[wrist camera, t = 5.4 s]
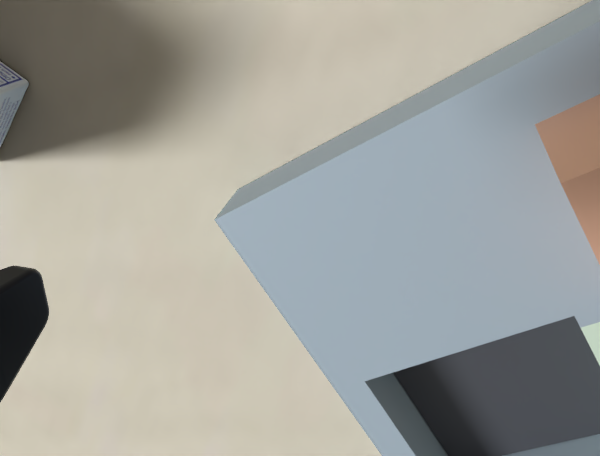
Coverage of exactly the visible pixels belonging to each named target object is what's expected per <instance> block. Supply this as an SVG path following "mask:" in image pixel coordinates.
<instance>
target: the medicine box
mask: <svg viewBox="0 0 600 456" xmlns="http://www.w3.org/2000/svg"><path fill="white" fill-rule="evenodd" d="M28 85H29V82H28V81H27V80H26V79H25V78H23V77H22V76H20V75H19V74H17V73H16V72H15V71H13V70H12V69H10V68H9V67H8V66H6V65H5V64H3V63H2V62H1V61H0V147H1V145H2V143H3V141H4V139H5V137H6V135H7V133H8V131H9V128H10V126H11V123H12V121H13V118H14V116H15V114H16V112H17V110H18V107H19V105H20V103H21V101H22V99H23V96H24V94H25V92H26V90H27V87H28Z"/></svg>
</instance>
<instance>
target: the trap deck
mask: <svg viewBox="0 0 600 456" xmlns="http://www.w3.org/2000/svg"><path fill="white" fill-rule="evenodd" d="M599 94H600V0H592V1H590V2H588V3H586V4H585V5H583V6H581V7H579V8H577V9H575V10H573V11H571V12H570V13H568V14H566V15H564V16H562V17H560V18H558V19H556V20H555V21H553V22H551V23H549V24H547V25H545V26H543V27H541V28H540V29H538V30H536V31H534V32H532V33H530V34H528V35H526V36H525V37H523V38H521V39H519V40H517V41H515V42H513V43H511V44H510V45H508V46H506V47H504V48H502V49H500V50H498V51H496V52H495V53H493V54H491V55H489V56H487V57H485V58H483V59H481V60H480V61H478V62H476V63H474V64H472V65H470V66H468V67H466V68H465V69H463V70H461V71H459V72H457V73H455V74H453V75H451V76H450V77H448V78H446V79H444V80H442V81H440V82H438V83H436V84H435V85H433V86H431V87H429V88H427V89H425V90H423V91H421V92H420V93H418V94H416V95H414V96H412V97H410V98H408V99H406V100H405V101H403V102H401V103H399V104H397V105H395V106H393V107H391V108H390V109H388V110H386V111H384V112H382V113H380V114H378V115H376V116H375V117H373V118H371V119H369V120H367V121H365V122H363V123H361V124H360V125H358V126H356V127H354V128H352V129H350V130H348V131H346V132H345V133H343V134H341V135H339V136H337V137H335V138H333V139H331V140H330V141H328V142H326V143H324V144H322V145H320V146H318V147H316V148H315V149H313V150H311V151H309V152H307V153H305V154H303V155H301V156H300V157H298V158H296V159H294V160H292V161H290V162H288V163H286V164H285V165H283V166H281V167H279V168H277V169H275V170H273V171H271V172H270V173H268V174H266V175H264V176H262V177H260V178H258V179H256V180H255V181H253V182H251V183H249V184H247V185H245V186H243V187H241V188H239V189H238V190H237V191H236V192H235V194H234V195H233V196H232V198H231V199H230V200H229V201H228V203H227V204H226V205H225V207H224V208H223V209H222V211H221V212H220V213H219V214H218V216H217V217H216V218H215V221H216V223H217V224H218V226H219V227H220V228H221V230H222V231H223V233H224V234H225V235H226V237H227V238H228V240H229V241H230V242H231V244H232V245H233V247H234V248H235V249H236V251H237V252H238V254H239V255H240V256H241V258H242V259H243V261H244V262H245V264H246V265H247V266H248V268H249V269H250V271H251V272H252V273H253V275H254V276H255V278H256V279H257V280H258V282H259V283H260V285H261V286H262V287H263V289H264V290H265V292H266V293H267V294H268V296H269V297H270V299H271V300H272V302H273V303H274V304H275V306H276V307H277V309H278V310H279V311H280V313H281V314H282V316H283V317H284V318H285V320H286V321H287V323H288V324H289V325H290V327H291V328H292V330H293V331H294V332H295V334H296V335H297V337H298V338H299V340H300V341H301V342H302V344H303V345H304V347H305V348H306V349H307V351H308V352H309V354H310V355H311V356H312V358H313V359H314V361H315V362H316V363H317V365H318V366H319V368H320V369H321V370H322V372H323V373H324V375H325V376H326V377H327V379H328V380H329V382H330V383H331V385H332V386H333V387H334V389H335V390H336V392H337V393H338V394H339V396H340V397H341V399H342V400H343V401H344V403H345V404H346V406H347V407H348V408H349V410H350V411H351V413H352V414H353V415H354V417H355V418H356V420H357V421H358V423H359V424H360V425H361V427H362V428H363V430H364V431H365V432H366V434H367V435H368V437H369V438H370V439H371V441H372V442H373V444H374V445H375V446H376V448H377V449H378V451H379V452H380V453H381V455H382V456H600V265H599V263H598V261H597V259H596V256H595V254H594V252H593V250H592V248H591V246H590V244H589V242H588V240H587V238H586V235H585V233H584V231H583V229H582V227H581V225H580V223H579V221H578V219H577V217H576V214H575V212H574V210H573V208H572V206H571V204H570V202H569V200H568V198H567V196H566V193H565V191H564V189H563V187H562V185H561V183H560V181H559V178H558V176H557V174H556V172H555V169H554V167H553V165H552V162H551V160H550V158H549V156H548V153H547V151H546V149H545V147H544V144H543V142H542V140H541V137H540V135H539V133H538V131H537V128H536V126H535V124H537V123H539V122H541V121H543V120H546V119H548V118H550V117H552V116H554V115H556V114H558V113H561V112H563V111H565V110H567V109H569V108H571V107H574V106H576V105H578V104H580V103H582V102H584V101H586V100H589V99H591V98H593V97H595V96H597V95H599Z"/></svg>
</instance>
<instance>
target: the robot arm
mask: <svg viewBox="0 0 600 456" xmlns="http://www.w3.org/2000/svg"><path fill="white" fill-rule="evenodd" d="M48 316H49V307H48V302H47V298H46V293H45V289H44V284H43V280H42V276H41V274H40V273H39V272H38V271H37V270H35V269H32V268H27V267H21V266H10V267H7V268H4V269H2V270H0V402H1V401H2V399H3V397H4V396H5V394H6V392H7V391H8V389H9V388H10V386H11V384H12V382H13V381H14V379H15V377H16V375H17V374H18V372H19V370H20V368H21V367H22V365H23V363H24V361H25V360H26V358H27V356H28V355H29V353H30V351H31V349H32V348H33V346H34V344H35V342H36V341H37V339H38V337H39V335H40V334H41V332H42V330H43V329H44V327H45V325H46V323H47V320H48Z"/></svg>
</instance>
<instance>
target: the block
mask: <svg viewBox="0 0 600 456" xmlns="http://www.w3.org/2000/svg"><path fill="white" fill-rule="evenodd" d="M535 126H536V128H537V131H538V133H539V135H540V137H541V140H542V142H543V144H544V147H545V149H546V151H547V153H548V156H549V158H550V160H551V162H552V165H553V167H554V169H555V172H556V174H557V176H558V178H559V181H560V183H561V185H562V187H563V189H564V191H565V193H566V196H567V198H568V200H569V202H570V204H571V206H572V208H573V210H574V212H575V214H576V217H577V219H578V221H579V223H580V225H581V227H582V229H583V231H584V233H585V235H586V238H587V240H588V242H589V244H590V246H591V248H592V250H593V252H594V254H595V256H596V259H597V261H598V263H599V265H600V94H599V95H597V96H595V97H593V98H591V99H589V100H586V101H584V102H582V103H580V104H578V105H576V106H574V107H571V108H569V109H567V110H565V111H563V112H561V113H558V114H556V115H554V116H552V117H550V118H548V119H546V120H543V121H541V122H539V123H537V124H535Z"/></svg>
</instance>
